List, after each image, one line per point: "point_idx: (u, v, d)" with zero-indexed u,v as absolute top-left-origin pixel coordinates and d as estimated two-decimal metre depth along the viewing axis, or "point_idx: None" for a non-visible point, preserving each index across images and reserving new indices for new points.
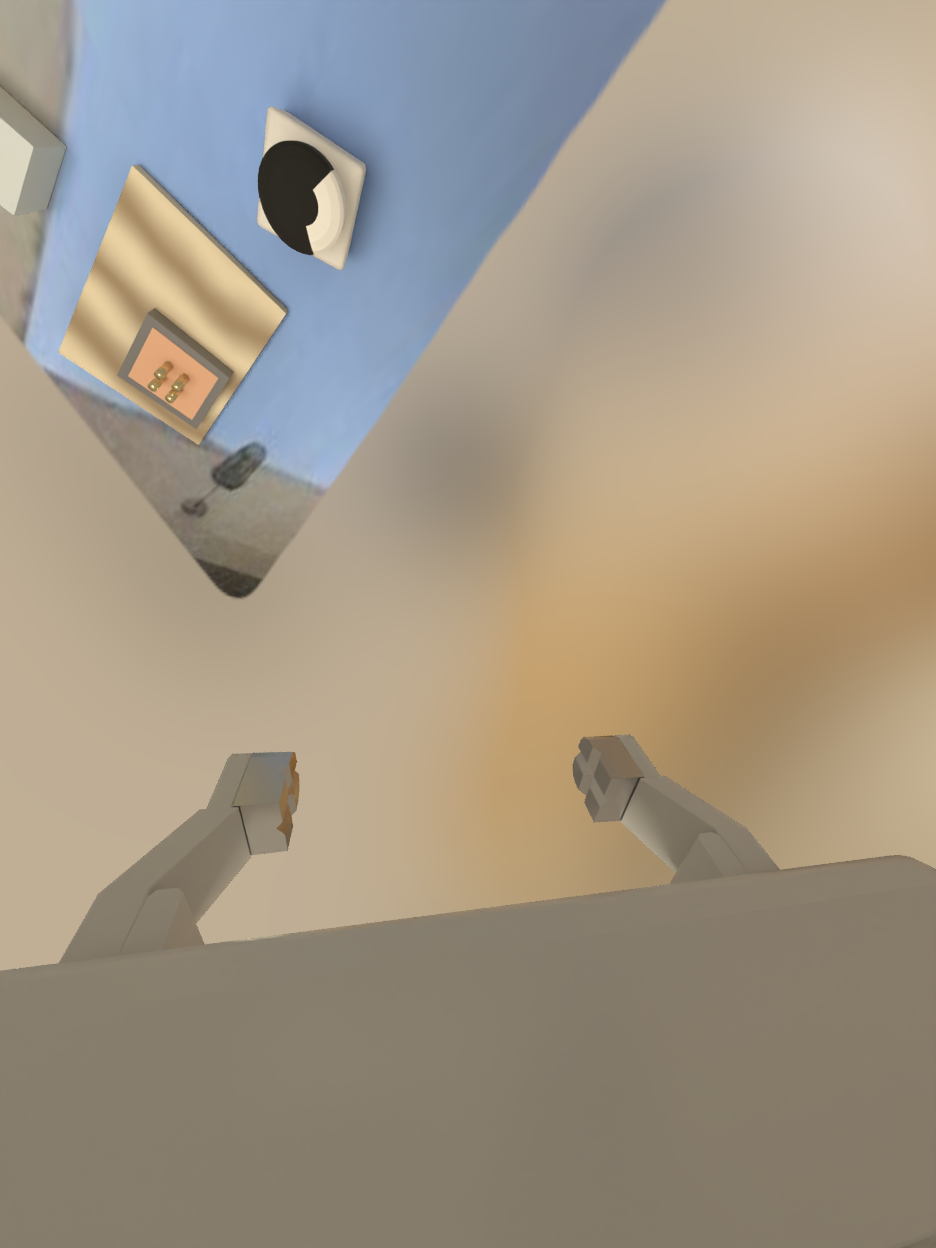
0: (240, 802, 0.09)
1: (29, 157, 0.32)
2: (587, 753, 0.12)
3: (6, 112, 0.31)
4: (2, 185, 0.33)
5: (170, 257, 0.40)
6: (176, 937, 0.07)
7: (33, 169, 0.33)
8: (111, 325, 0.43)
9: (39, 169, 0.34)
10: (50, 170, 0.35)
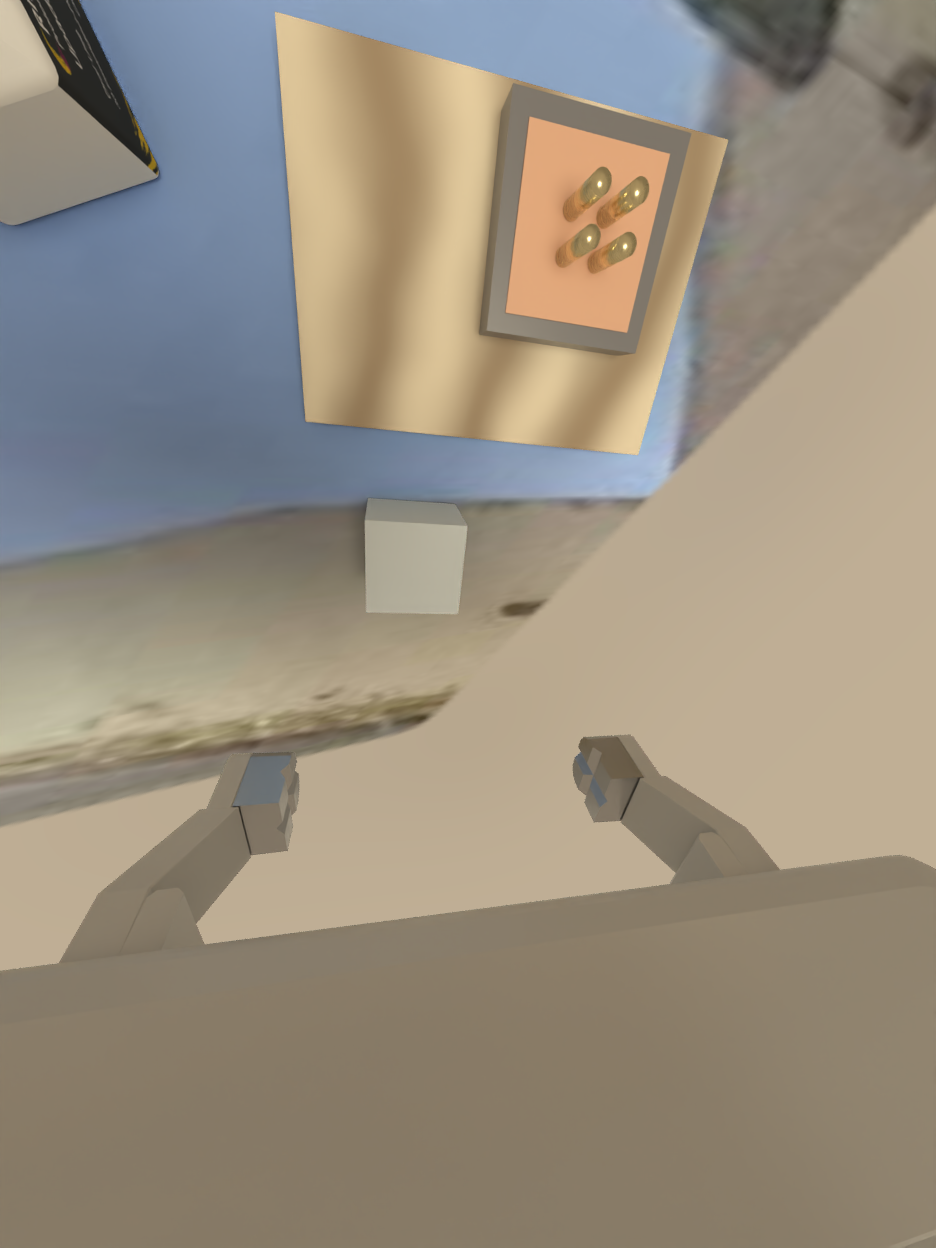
0: (240, 802, 0.09)
1: (381, 522, 0.22)
2: (587, 753, 0.12)
3: None
4: (439, 541, 0.23)
5: (378, 332, 0.21)
6: (176, 937, 0.07)
7: (398, 517, 0.23)
8: (552, 394, 0.24)
9: (398, 513, 0.24)
10: (400, 505, 0.26)
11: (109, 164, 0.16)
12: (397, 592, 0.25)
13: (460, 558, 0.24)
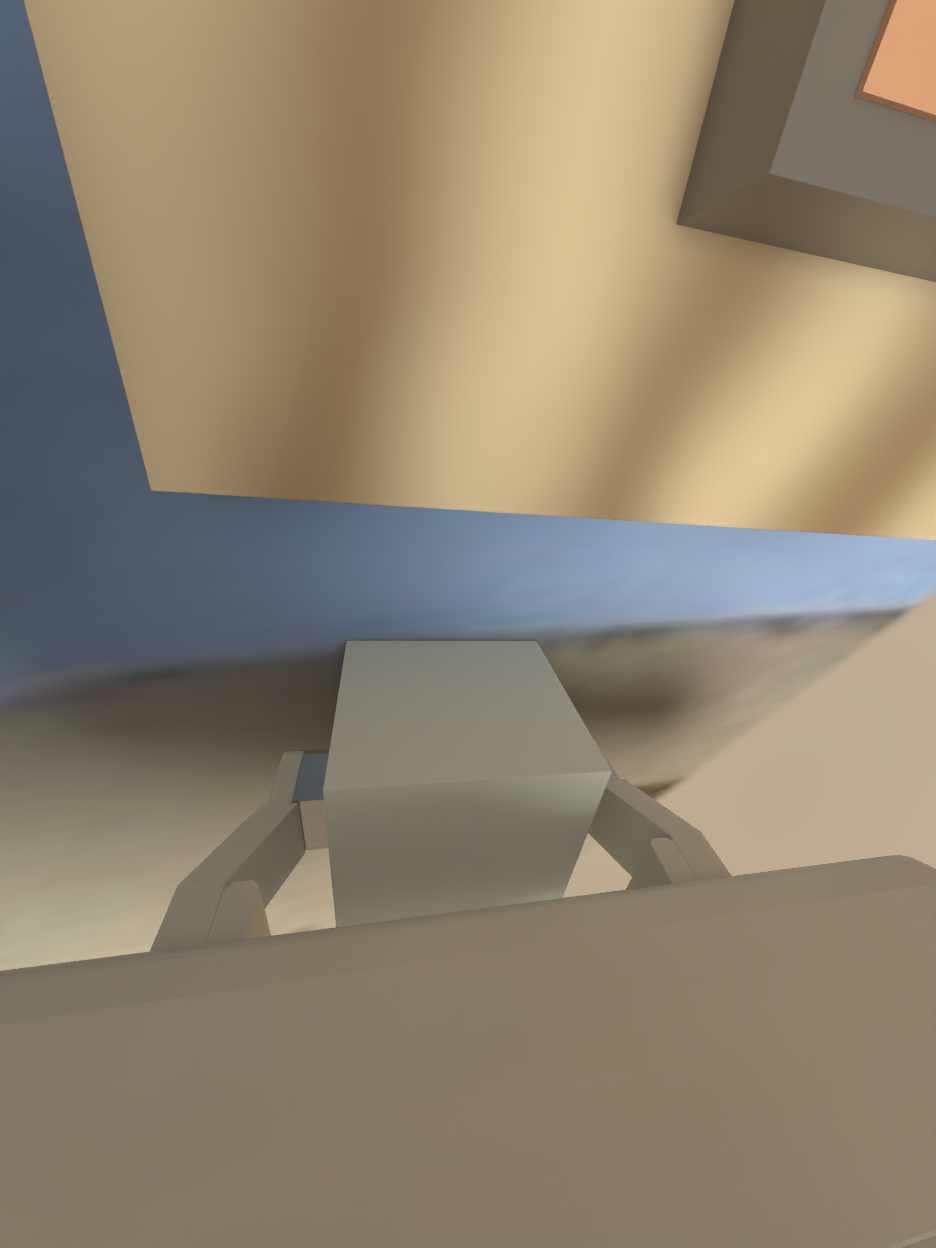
0: (299, 798, 0.09)
1: (374, 788, 0.08)
2: None
3: None
4: (533, 808, 0.09)
5: (361, 206, 0.06)
6: (254, 927, 0.07)
7: (420, 747, 0.08)
8: (827, 405, 0.09)
9: (419, 717, 0.09)
10: (421, 669, 0.11)
11: None
12: (416, 905, 0.10)
13: (579, 831, 0.09)
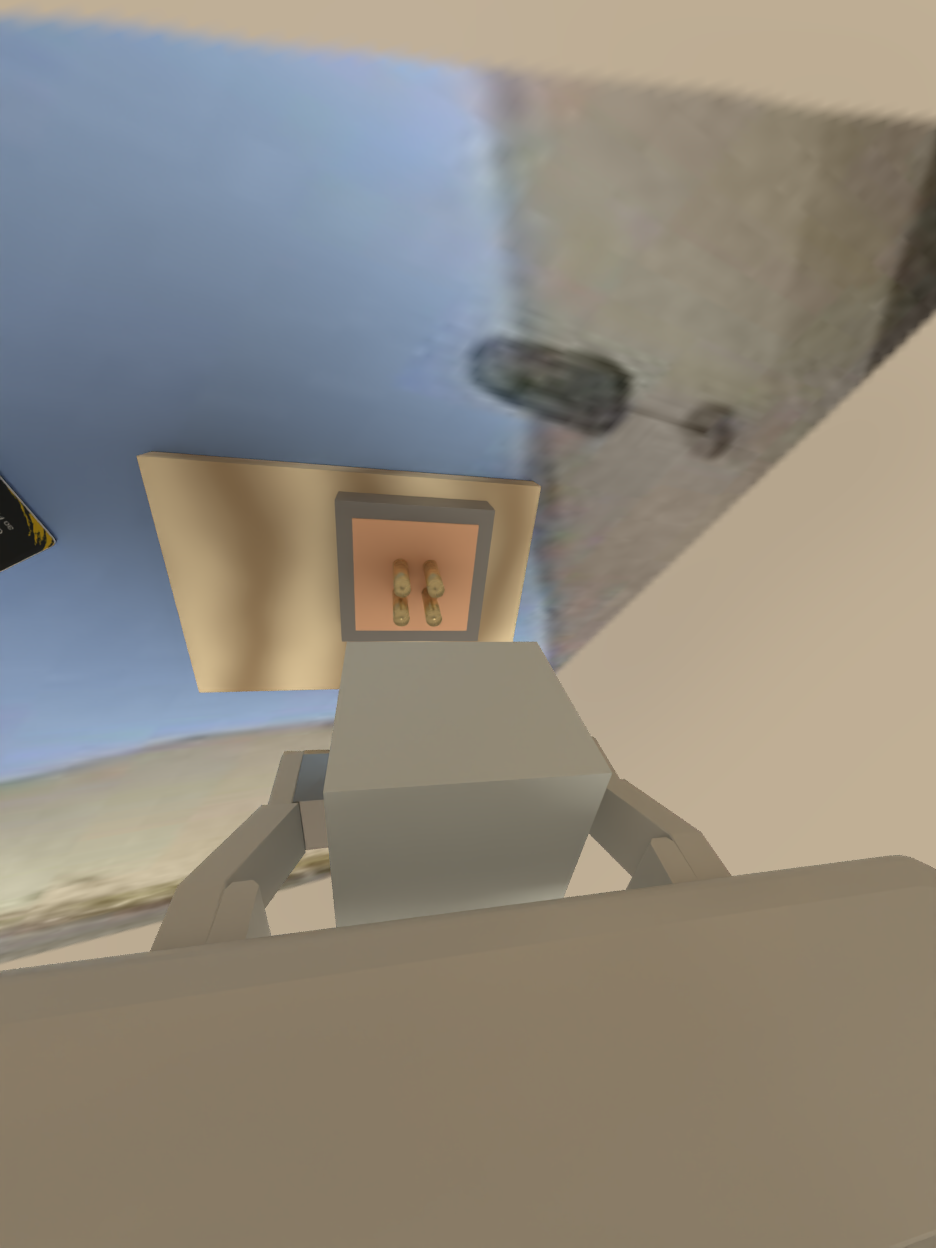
0: (299, 798, 0.09)
1: (374, 790, 0.08)
2: None
3: None
4: (534, 810, 0.09)
5: (255, 632, 0.25)
6: (254, 927, 0.07)
7: (420, 748, 0.08)
8: None
9: (419, 718, 0.09)
10: (421, 671, 0.11)
11: None
12: (416, 907, 0.10)
13: (580, 832, 0.09)
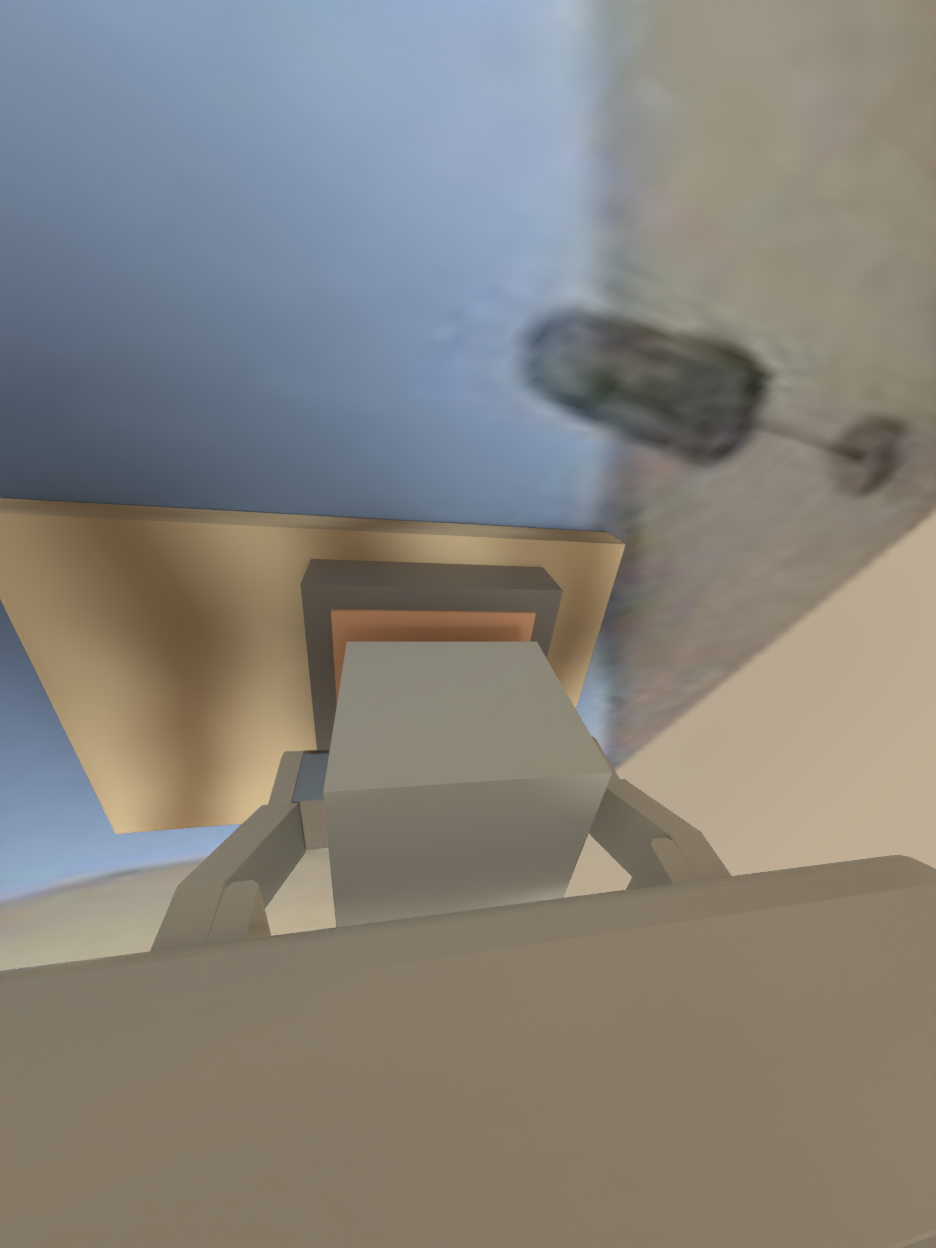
0: (299, 798, 0.09)
1: (374, 789, 0.08)
2: None
3: None
4: (534, 810, 0.09)
5: (192, 755, 0.17)
6: (254, 927, 0.07)
7: (420, 748, 0.08)
8: None
9: (419, 718, 0.09)
10: (421, 670, 0.11)
11: None
12: (416, 907, 0.10)
13: (580, 832, 0.09)
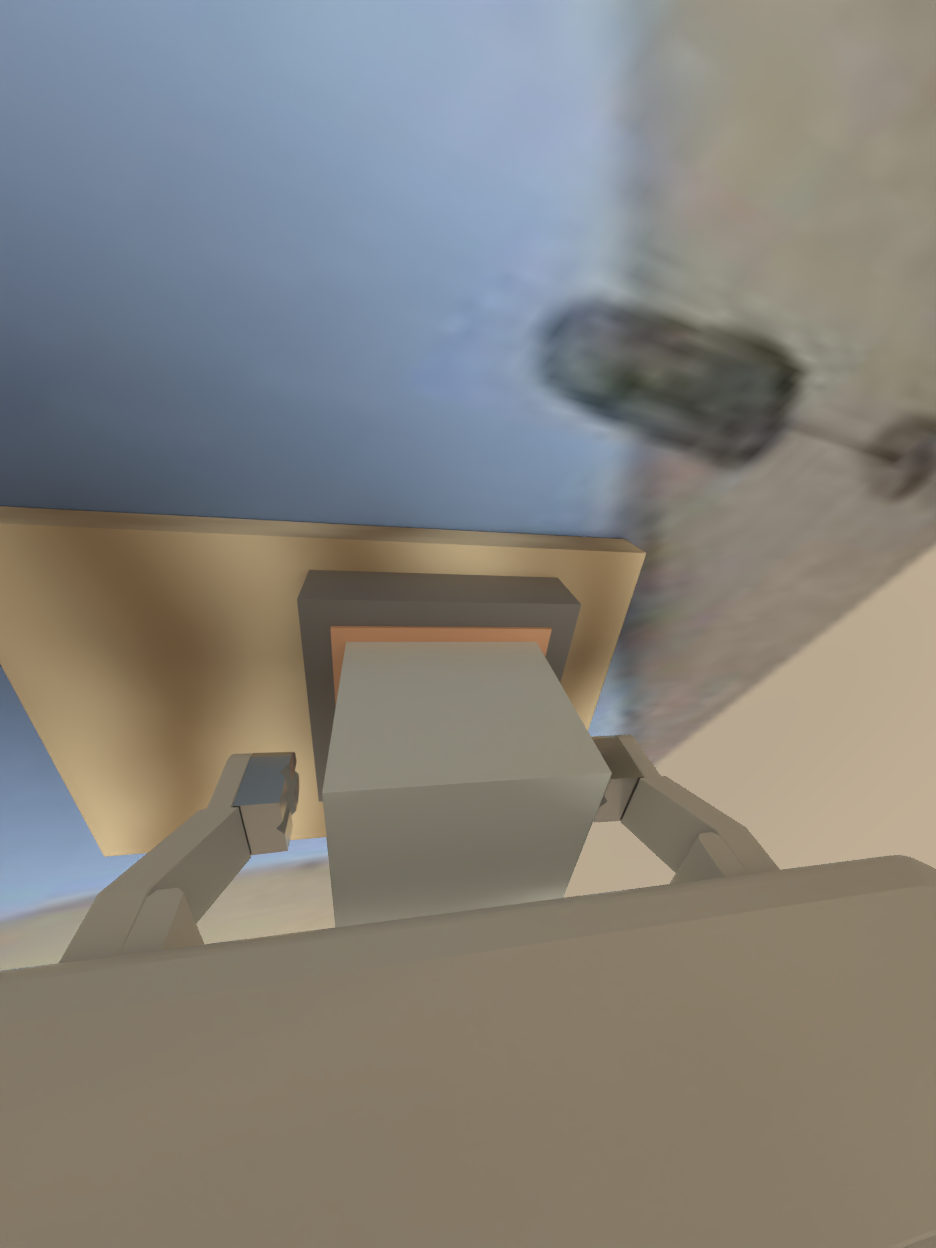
0: (240, 802, 0.09)
1: (373, 790, 0.08)
2: None
3: None
4: (533, 810, 0.09)
5: (183, 776, 0.16)
6: (176, 937, 0.07)
7: (420, 749, 0.08)
8: None
9: (419, 718, 0.09)
10: (420, 671, 0.11)
11: None
12: (415, 907, 0.10)
13: (579, 833, 0.09)
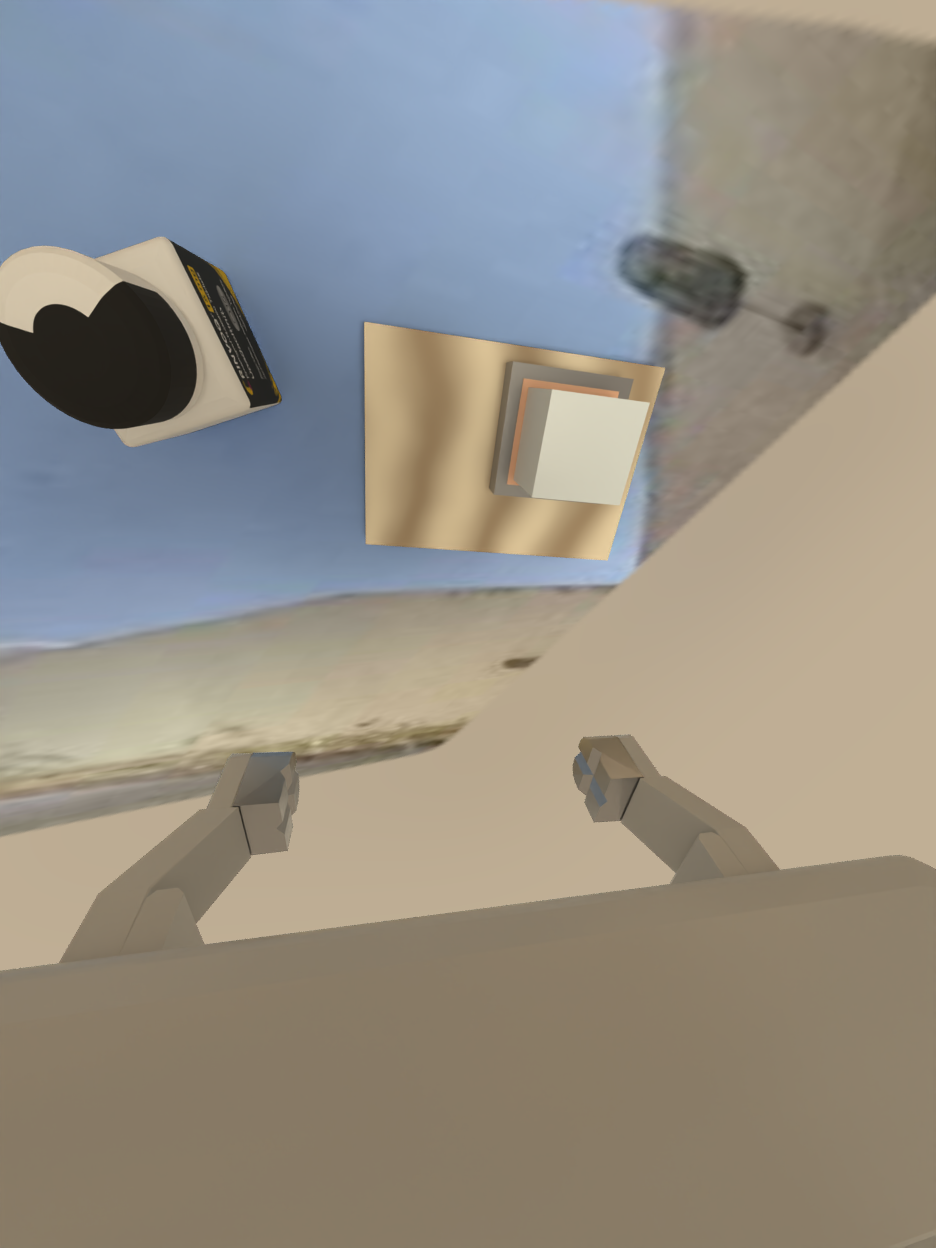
0: (240, 802, 0.09)
1: (567, 392, 0.22)
2: (587, 753, 0.12)
3: (535, 432, 0.24)
4: (619, 419, 0.23)
5: (419, 489, 0.30)
6: (176, 937, 0.07)
7: None
8: (541, 522, 0.33)
9: None
10: None
11: (257, 409, 0.26)
12: (566, 475, 0.24)
13: (635, 440, 0.24)
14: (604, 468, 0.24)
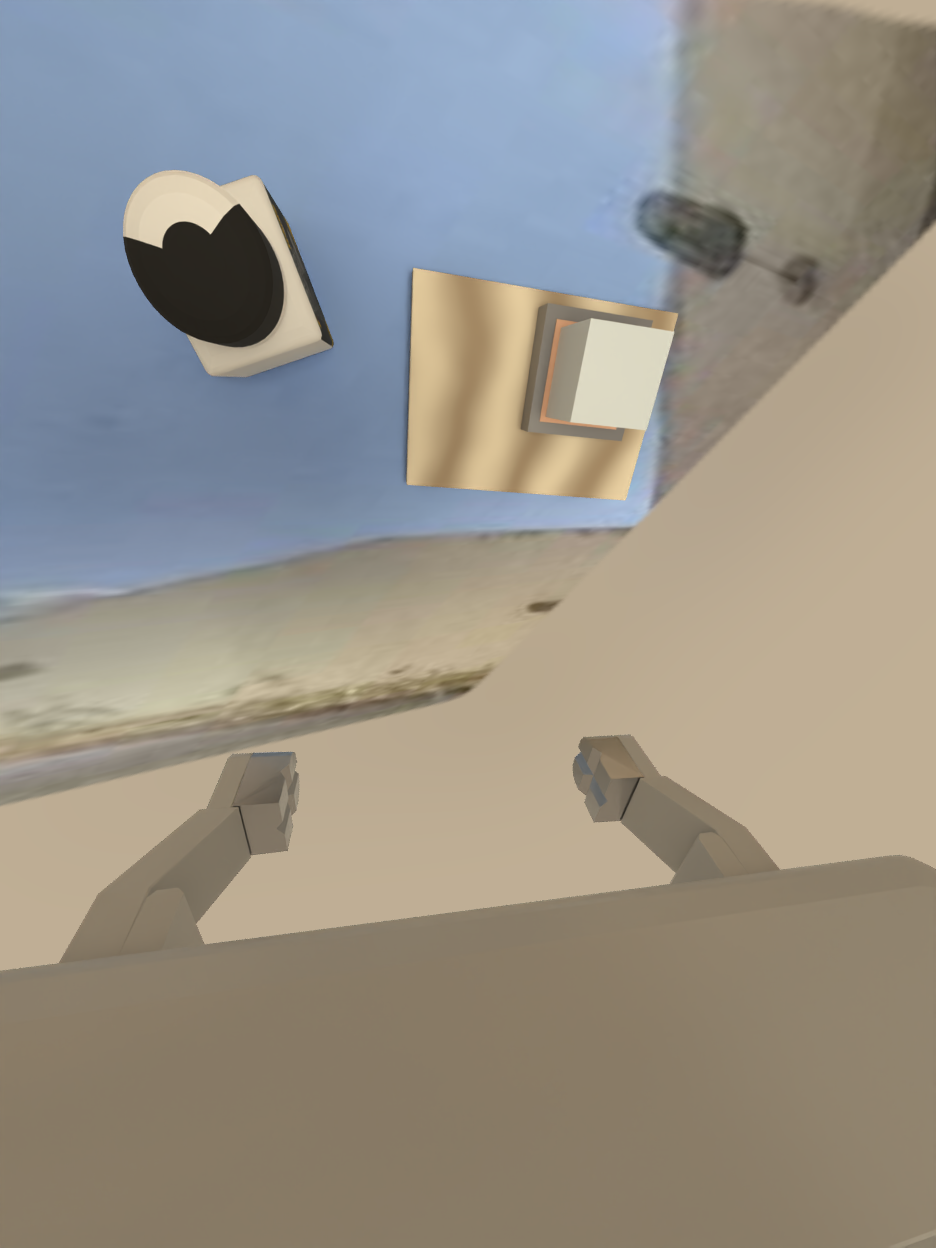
0: (240, 802, 0.09)
1: (604, 321, 0.25)
2: (587, 753, 0.12)
3: (572, 363, 0.27)
4: (648, 347, 0.26)
5: (457, 430, 0.33)
6: (176, 937, 0.07)
7: None
8: (567, 463, 0.36)
9: None
10: None
11: (315, 350, 0.28)
12: (601, 401, 0.27)
13: (661, 367, 0.27)
14: (634, 394, 0.27)
